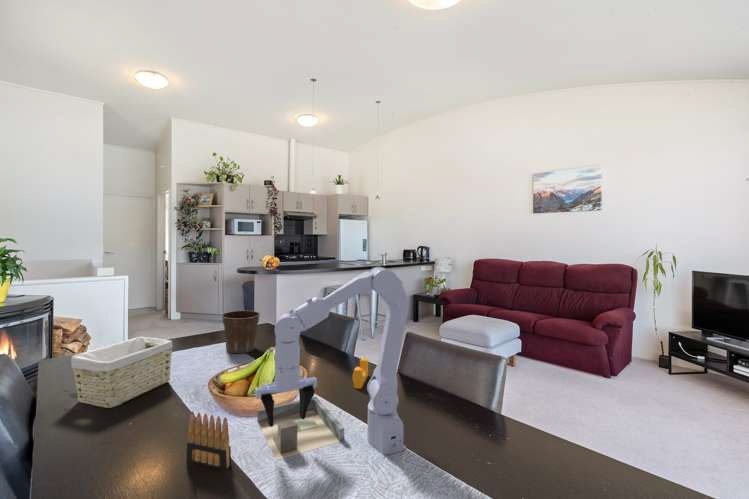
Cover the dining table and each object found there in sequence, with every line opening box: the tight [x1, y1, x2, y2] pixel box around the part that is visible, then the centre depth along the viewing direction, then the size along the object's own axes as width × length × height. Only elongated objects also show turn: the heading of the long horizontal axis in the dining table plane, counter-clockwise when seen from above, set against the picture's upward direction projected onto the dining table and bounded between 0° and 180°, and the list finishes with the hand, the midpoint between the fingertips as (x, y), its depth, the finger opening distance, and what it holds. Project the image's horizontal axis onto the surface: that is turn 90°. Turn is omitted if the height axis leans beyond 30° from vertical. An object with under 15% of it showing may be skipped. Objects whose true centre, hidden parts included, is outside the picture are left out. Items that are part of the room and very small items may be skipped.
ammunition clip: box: [186, 410, 232, 471], centre depth 82 cm, size 11×2×12 cm, turn 73°
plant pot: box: [221, 310, 261, 354], centre depth 165 cm, size 16×16×16 cm
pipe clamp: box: [352, 358, 369, 390], centre depth 132 cm, size 12×4×6 cm, turn 170°
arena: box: [256, 396, 345, 461], centre depth 97 cm, size 20×17×4 cm
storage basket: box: [70, 336, 173, 409], centre depth 120 cm, size 24×16×15 cm
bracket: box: [273, 420, 297, 454], centre depth 90 cm, size 7×4×6 cm, turn 29°
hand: (286, 421), depth 88 cm, fingers open, 7 cm apart
